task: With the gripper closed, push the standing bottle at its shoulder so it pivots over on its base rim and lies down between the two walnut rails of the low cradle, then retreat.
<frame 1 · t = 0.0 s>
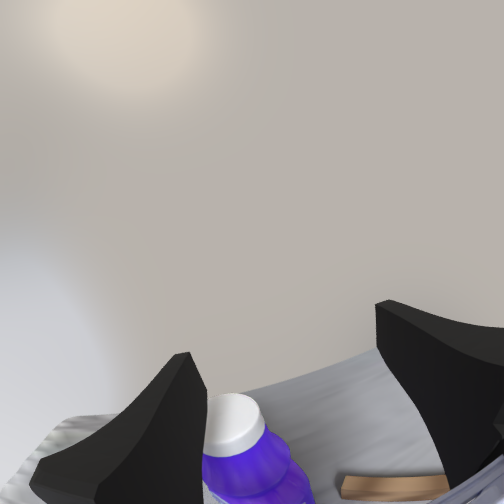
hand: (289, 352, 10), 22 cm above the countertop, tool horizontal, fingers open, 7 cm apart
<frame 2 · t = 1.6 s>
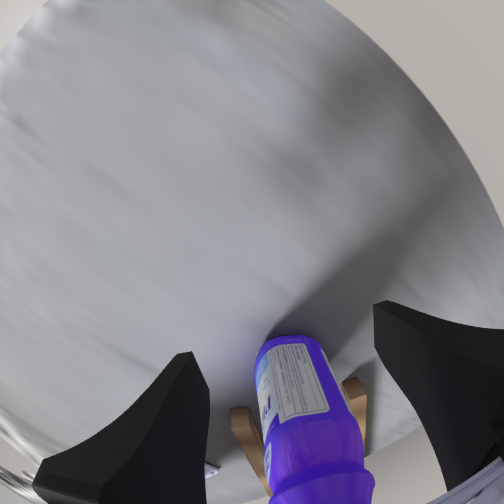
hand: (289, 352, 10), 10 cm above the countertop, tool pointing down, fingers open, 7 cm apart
bottle: (286, 361, 23), on the countertop
cradle: (304, 438, 26), on the countertop
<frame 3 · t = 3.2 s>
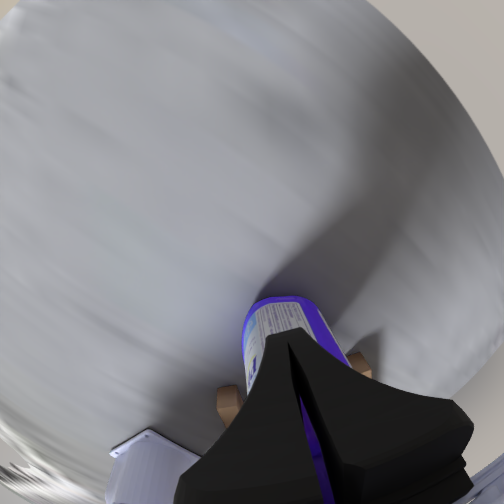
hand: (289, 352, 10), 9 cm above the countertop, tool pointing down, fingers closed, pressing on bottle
bottle: (279, 329, 21), on the countertop, touching gripper
cradle: (302, 424, 24), on the countertop
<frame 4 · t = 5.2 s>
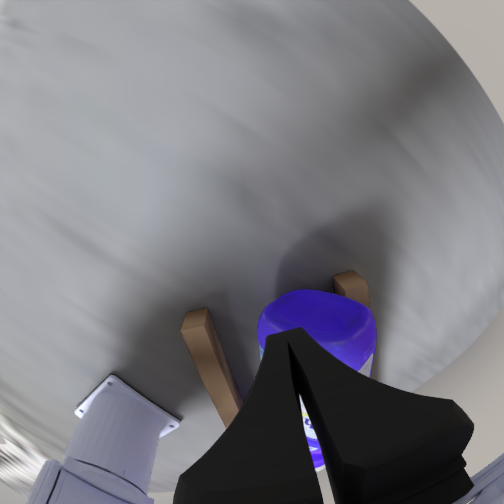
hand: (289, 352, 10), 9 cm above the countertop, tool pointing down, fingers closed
bottle: (318, 306, 15), point 4 cm above the countertop, touching cradle
cradle: (289, 372, 22), on the countertop
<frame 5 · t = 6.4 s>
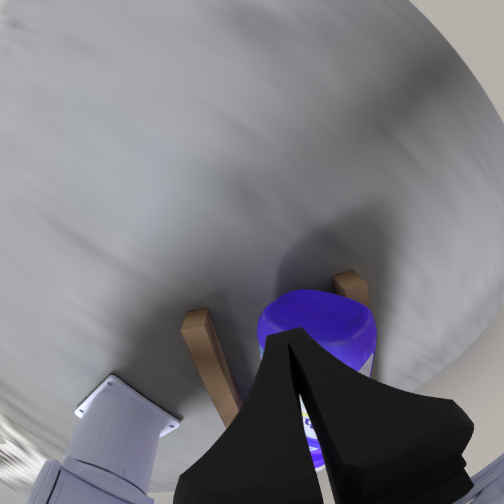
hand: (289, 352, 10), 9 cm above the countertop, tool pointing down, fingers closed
bottle: (318, 306, 15), point 4 cm above the countertop, touching cradle
cradle: (289, 372, 22), on the countertop
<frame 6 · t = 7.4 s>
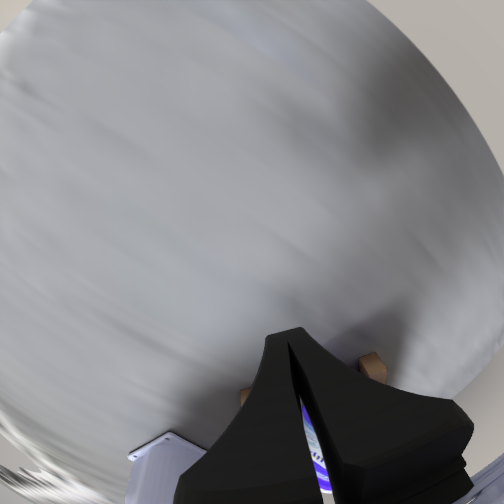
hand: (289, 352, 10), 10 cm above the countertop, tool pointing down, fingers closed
bottle: (350, 394, 18), point 4 cm above the countertop, touching cradle
cradle: (318, 423, 25), on the countertop
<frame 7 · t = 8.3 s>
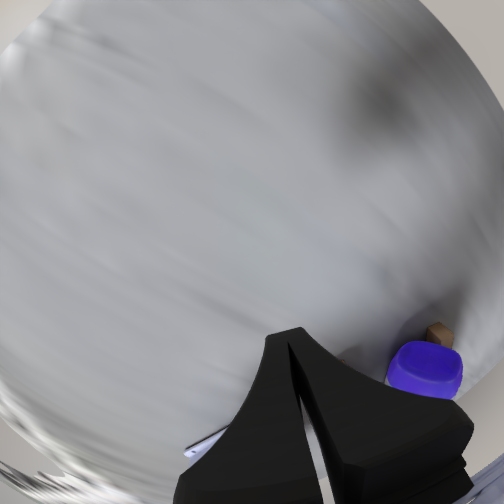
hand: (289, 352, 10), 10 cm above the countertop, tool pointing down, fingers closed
bottle: (432, 356, 19), point 4 cm above the countertop, touching cradle
cradle: (385, 396, 25), on the countertop
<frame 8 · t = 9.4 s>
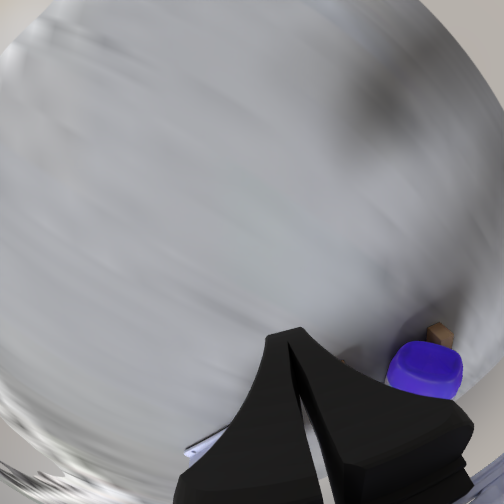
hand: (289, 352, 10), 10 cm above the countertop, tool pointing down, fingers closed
bottle: (432, 356, 19), point 4 cm above the countertop, touching cradle
cradle: (385, 396, 25), on the countertop
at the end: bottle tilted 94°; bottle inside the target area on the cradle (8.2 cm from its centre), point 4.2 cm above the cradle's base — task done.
